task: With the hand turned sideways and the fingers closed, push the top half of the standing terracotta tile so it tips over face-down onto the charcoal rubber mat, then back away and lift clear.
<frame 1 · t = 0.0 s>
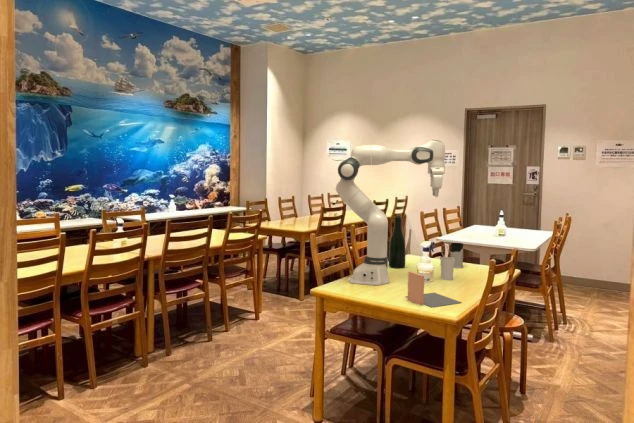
hand: (435, 196, 271), 48 cm above the table, tool pointing down, fingers open, 8 cm apart
mat: (432, 299, 242), on the table
tile: (415, 302, 238), on the table
dark green bottle: (396, 267, 319), on the table
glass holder: (451, 266, 321), on the table
cup: (446, 279, 286), on the table
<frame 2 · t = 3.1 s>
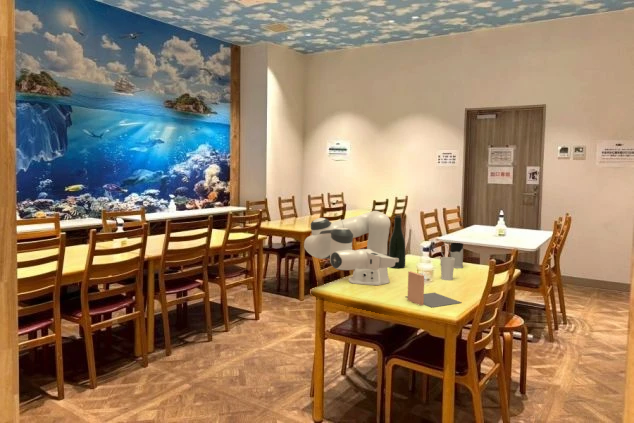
hand: (392, 257, 229), 22 cm above the table, tool horizontal, fingers open, 8 cm apart
nothing on the table moved.
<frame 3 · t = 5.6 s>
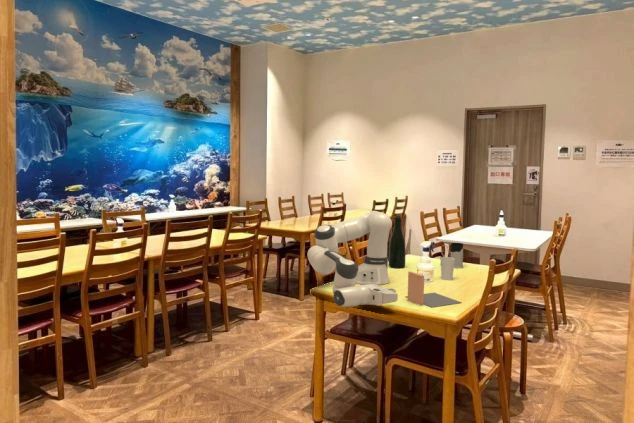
hand: (394, 290, 231), 7 cm above the table, tool horizontal, fingers closed
nothing on the table moved.
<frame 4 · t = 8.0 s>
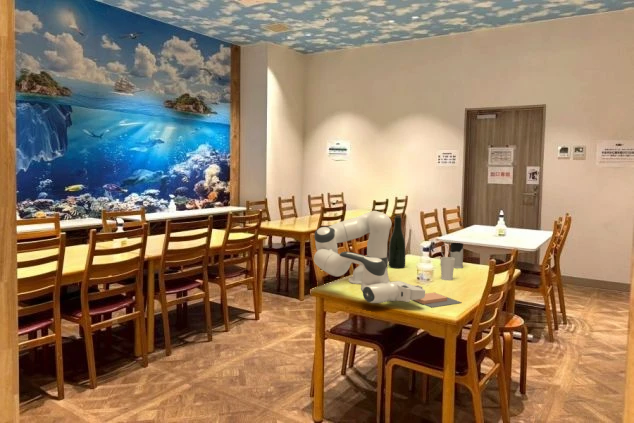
hand: (420, 287, 238), 7 cm above the table, tool horizontal, fingers closed
tile: (417, 299, 238), point 1 cm above the table, tilted 90°, touching mat
everything else where it was.
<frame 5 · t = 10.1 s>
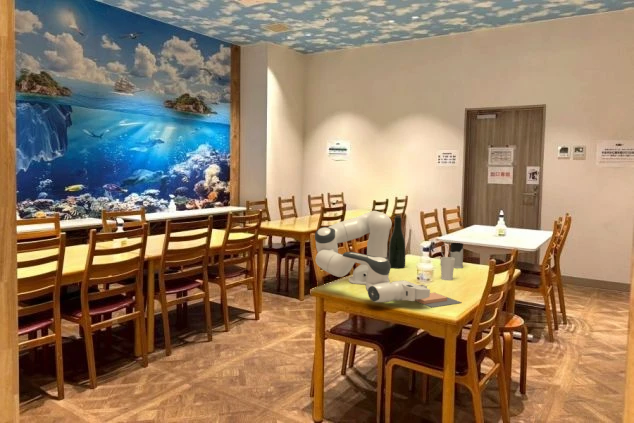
hand: (425, 287, 239), 7 cm above the table, tool horizontal, fingers closed
nothing on the table moved.
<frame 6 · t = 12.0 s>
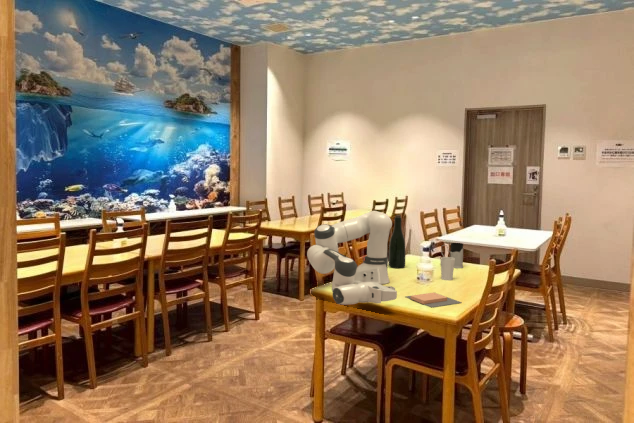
hand: (393, 288, 231), 8 cm above the table, tool horizontal, fingers closed
nothing on the table moved.
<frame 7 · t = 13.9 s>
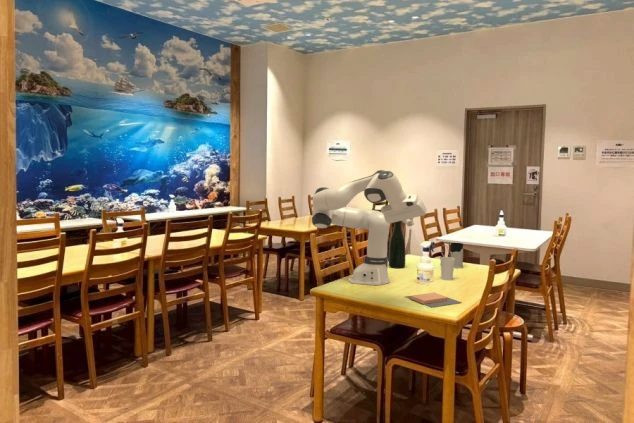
hand: (411, 225, 238), 36 cm above the table, tool tilted 35°, fingers closed
nothing on the table moved.
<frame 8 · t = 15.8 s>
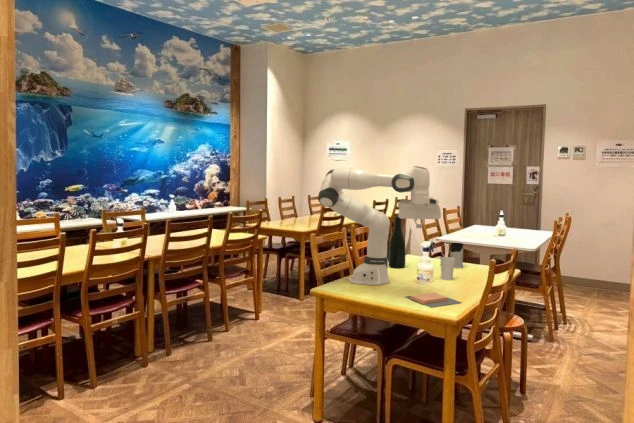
hand: (419, 228, 246), 34 cm above the table, tool pointing down, fingers closed
nothing on the table moved.
at the end: tile tilted 90°; tile touching mat; tile inside the target area (1.0 cm from its centre), point 1.2 cm above the table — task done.
